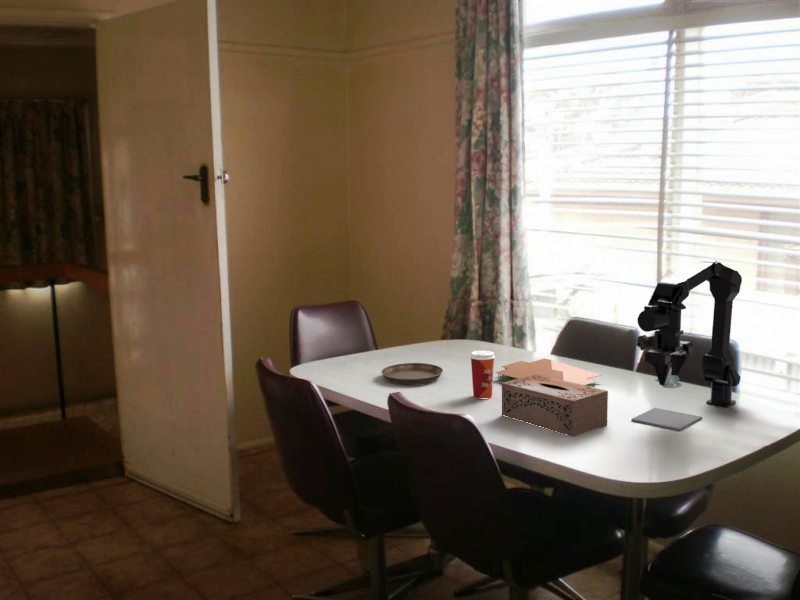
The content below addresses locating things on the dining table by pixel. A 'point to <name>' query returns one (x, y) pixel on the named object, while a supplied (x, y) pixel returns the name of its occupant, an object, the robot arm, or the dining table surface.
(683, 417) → the mat
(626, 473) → the dining table surface
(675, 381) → the pacifier
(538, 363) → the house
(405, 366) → the plant saucer
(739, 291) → the robot arm
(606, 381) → the dining table surface
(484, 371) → the paper cup
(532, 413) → the tissue box cover
